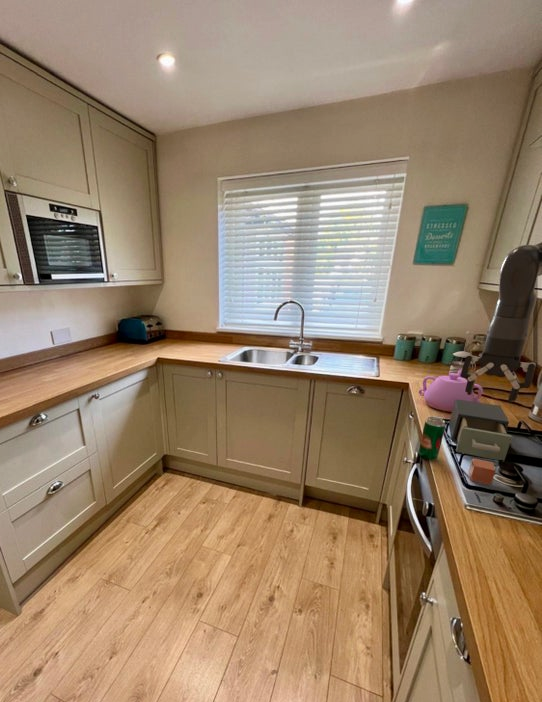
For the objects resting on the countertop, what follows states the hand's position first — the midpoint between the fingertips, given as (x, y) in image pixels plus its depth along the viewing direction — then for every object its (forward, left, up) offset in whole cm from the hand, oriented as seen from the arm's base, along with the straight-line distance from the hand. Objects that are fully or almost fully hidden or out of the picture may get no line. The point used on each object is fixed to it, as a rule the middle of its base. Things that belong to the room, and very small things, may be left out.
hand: (488, 397), depth 86 cm
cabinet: (-3, -21, -20) cm, 29 cm away
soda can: (+10, +1, -20) cm, 23 cm away
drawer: (-3, -9, -19) cm, 22 cm away
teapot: (+3, -49, -20) cm, 54 cm away
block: (-2, +7, -20) cm, 21 cm away
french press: (-3, -86, -20) cm, 89 cm away
